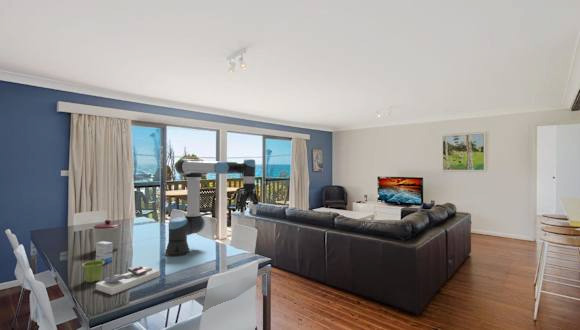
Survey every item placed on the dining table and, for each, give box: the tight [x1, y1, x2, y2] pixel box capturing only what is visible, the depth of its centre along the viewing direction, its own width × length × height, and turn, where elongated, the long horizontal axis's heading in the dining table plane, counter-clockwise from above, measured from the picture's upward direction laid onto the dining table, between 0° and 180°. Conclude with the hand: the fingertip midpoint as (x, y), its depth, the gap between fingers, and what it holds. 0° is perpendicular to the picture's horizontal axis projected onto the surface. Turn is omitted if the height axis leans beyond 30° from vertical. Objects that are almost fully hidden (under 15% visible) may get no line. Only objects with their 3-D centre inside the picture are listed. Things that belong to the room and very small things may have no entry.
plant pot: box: [81, 260, 105, 283], centre depth 146 cm, size 9×9×9 cm
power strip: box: [95, 266, 161, 296], centre depth 144 cm, size 12×26×3 cm, turn 154°
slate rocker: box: [103, 273, 125, 283], centre depth 137 cm, size 8×5×3 cm, turn 64°
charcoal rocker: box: [127, 264, 147, 276], centre depth 148 cm, size 8×5×3 cm, turn 64°
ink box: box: [95, 241, 114, 264], centre depth 175 cm, size 9×5×12 cm, turn 71°
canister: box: [91, 219, 123, 251], centre depth 199 cm, size 18×18×21 cm
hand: (248, 215), depth 185 cm, fingers open, 13 cm apart
